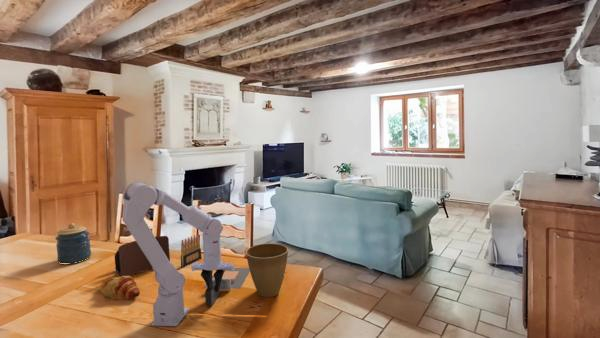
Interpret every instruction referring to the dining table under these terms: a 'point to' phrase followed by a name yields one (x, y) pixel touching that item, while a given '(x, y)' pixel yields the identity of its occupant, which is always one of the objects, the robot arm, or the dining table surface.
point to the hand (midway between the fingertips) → (214, 290)
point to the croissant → (120, 288)
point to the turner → (211, 290)
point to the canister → (73, 244)
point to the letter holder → (136, 257)
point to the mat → (240, 279)
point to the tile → (231, 275)
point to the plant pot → (267, 267)
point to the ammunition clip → (190, 251)
